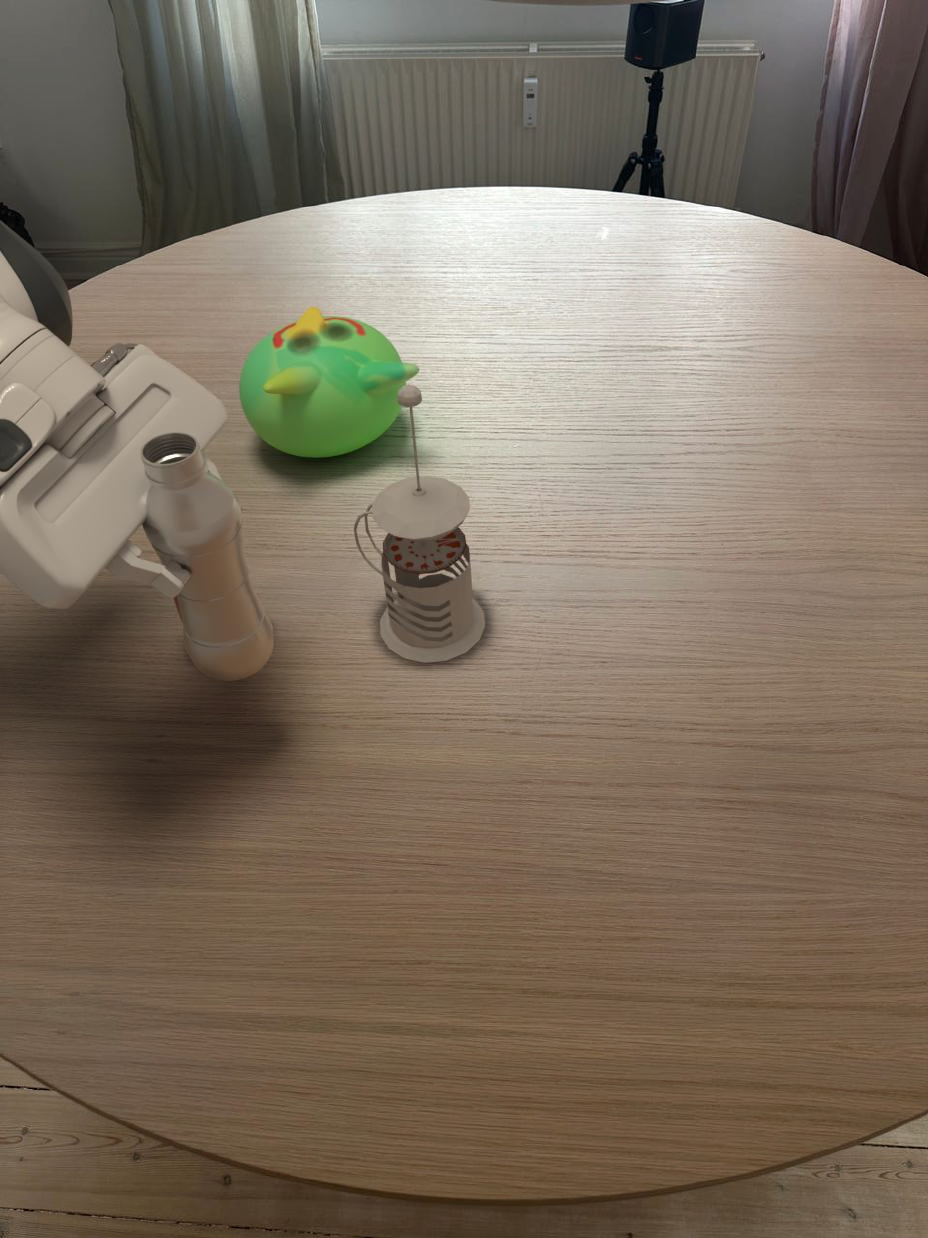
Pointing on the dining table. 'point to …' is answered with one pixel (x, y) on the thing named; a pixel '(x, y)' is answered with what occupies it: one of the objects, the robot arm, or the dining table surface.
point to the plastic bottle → (205, 558)
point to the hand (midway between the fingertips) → (209, 553)
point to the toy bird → (322, 385)
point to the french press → (425, 563)
